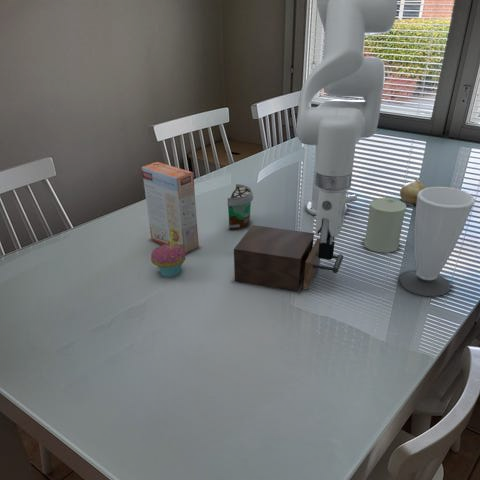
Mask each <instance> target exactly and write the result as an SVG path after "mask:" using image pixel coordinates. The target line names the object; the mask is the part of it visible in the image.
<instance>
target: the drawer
mask: <svg viewBox="0 0 480 480" xmlns="http://www.w3.org/2000/svg"><path fill="white" fill-rule="evenodd" d="M319 242H320V237H319V238H316V240H315V243H313V248H312V250H311V252H310V245H309V247H308V249H307V250H306V252H305V254H304V256H303V258H302V260H301V271H300V280H301V278H302V276H303V274H304V272H305V274H304V281H303V289H304V290H309V289H310V287H311V285H312V282H313V280H314V278H315V276H316V274H317V271H318V270H324V271H330V272H332V273H333V274H338V272H339V270H340V267H341V265H342V262H343V259H344V255H343V254H341V253H340V254H336V255H335V254H333V257H332V259H335V260H334V264H333V266H325V265H321V259H320V258H318V253H319ZM310 244H311V243H310Z"/></svg>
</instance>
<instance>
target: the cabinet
mask: <svg viewBox="0 0 480 480" xmlns="http://www.w3.org/2000/svg"><path fill="white" fill-rule="evenodd" d="M314 239H315V233H314V232H309V231H301V230H293V229H285V228H278V227H270V226H264V225H258V224H257V225H256V224H252V225H251V226H250V228H249V229H248V230H247V231H246V233H245V234H244V235H243V237H241V239H240V240H239V242H237V244H236V245H235V247H234V248H233V271H234V273H233V274H234V282H235V283H241V284H248V285H254V286H258V287H264V288H265V287H266V288H269V289H270V288H271V289H276V290H282V291H288V292H294V293H299V292H300V290H301V288H302V286H303V285H304V274H305V272H304V274H303V276H302V278H301V280H300V271H301V260H302V258H303V256H304V254H305V252H306V250H307V249H308V247H309V245H310V252H311V250H312V248H313V246H314ZM310 243H311V244H310Z"/></svg>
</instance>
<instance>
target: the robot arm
mask: <svg viewBox="0 0 480 480" xmlns="http://www.w3.org/2000/svg"><path fill="white" fill-rule="evenodd" d="M316 4H317V11H318V15H319V18H320V21H321V25H322V28H323V31H324V42H323V43H324V44H323V53H322V61H320V63H318V64H317V66H315V67H314V69H313V70H312V71H311V72H310V73H309V75H308V76H307V78H306V79H305V81H304V83H303V85H302V87H301V90H300V93H299V97H298V107H297V117H296V136H297V138H298V140H299V142H300V143H301V144H303V145H308V146H315V151H314V166H313V180H312V193H311V200H310V201H308V202H307V204H306V207H305V208H306V211H307V212H308V213H309V214H310V215H314V216H316V217H315V234H316V236H319V239H320V242H319V253H318V258H320V260H328V261H332V260H333V258H332V257H333V255H334V252H335V243H336V241H335V238H337V237H338V236H340V233H341V232H342V231H341V230H342V228H343V225H344V222H345V214H346V213H347V211H348V205H347V204H348V203H352V202H356V201H357V200H358V196H357V195H356V194H352V195H350V194H349V193H347V192H348V191H349V190H351V187H352V179H353V172H354V171H353V170H354V161H355V154H356V153H355V152H356V145H357V144H358V143H359V142H360V140H361V139H368V138H371V137H373V136H374V135H375V134H376V133H377V129H378V125H379V120H380V113H381V106H382V99H383V93H384V87H385V76H386V75H385V74H386V70H385V69H386V67H385V64H384V61H383V60H382V59H381V58H380V57H377V56H364V54H365V53H364V52H365V41H366V40H365V38H366V34H386V33H389V32H390V31H391V30H392V28H393V26H394V24H395V21H396V17H397V12H398V11H397V10H398V0H316ZM322 90H323V91H324V93H325V94H326V95H328V96H331V97H341V98H342V97H343V98H344V97H345V98H347V97H348V98H349V97H350V98H362V99H363V100H346V99H345V100H344V99H333V100H332V99H331V100H325V101H323V102H321V103H320V104H318V105H317V106H312V102H313V100H314V97H315V96H316V95H317V94H318V93H319V92H320V91H322Z"/></svg>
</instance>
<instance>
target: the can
mask: <svg viewBox="0 0 480 480" xmlns="http://www.w3.org/2000/svg"><path fill="white" fill-rule="evenodd" d="M406 209H407V203H405V202H403V201H402V200H400V199H396V198H391V197H379V198H375V199H372V200H370V202H369V208H368V218H367V223H366V224H367V225H366V231H365V237H364V241H363V245H364V247H365V248H367V249H368V250H369V251H373V252H375V253H393V252H395V251H397V250H399V248H400V239H401V235H402V229H403V224H404V219H405V215H406Z"/></svg>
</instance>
